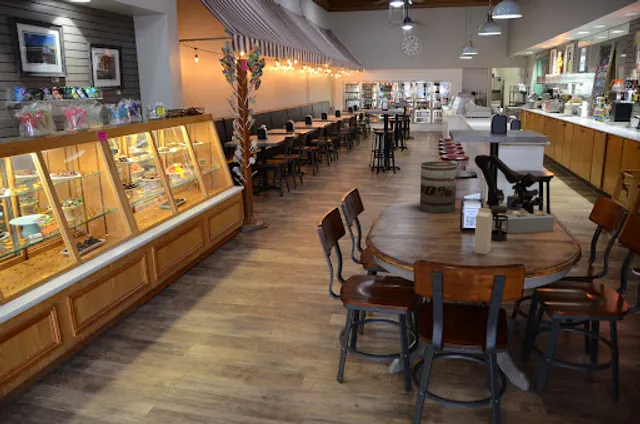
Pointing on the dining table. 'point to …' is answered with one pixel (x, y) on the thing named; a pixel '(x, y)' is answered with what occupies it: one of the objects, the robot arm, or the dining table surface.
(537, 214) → the pale green rounded cylinder
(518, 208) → the flask
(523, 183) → the robot arm
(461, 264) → the dining table surface
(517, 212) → the cream button
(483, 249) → the milk
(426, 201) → the barrel
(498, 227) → the french press
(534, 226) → the block
